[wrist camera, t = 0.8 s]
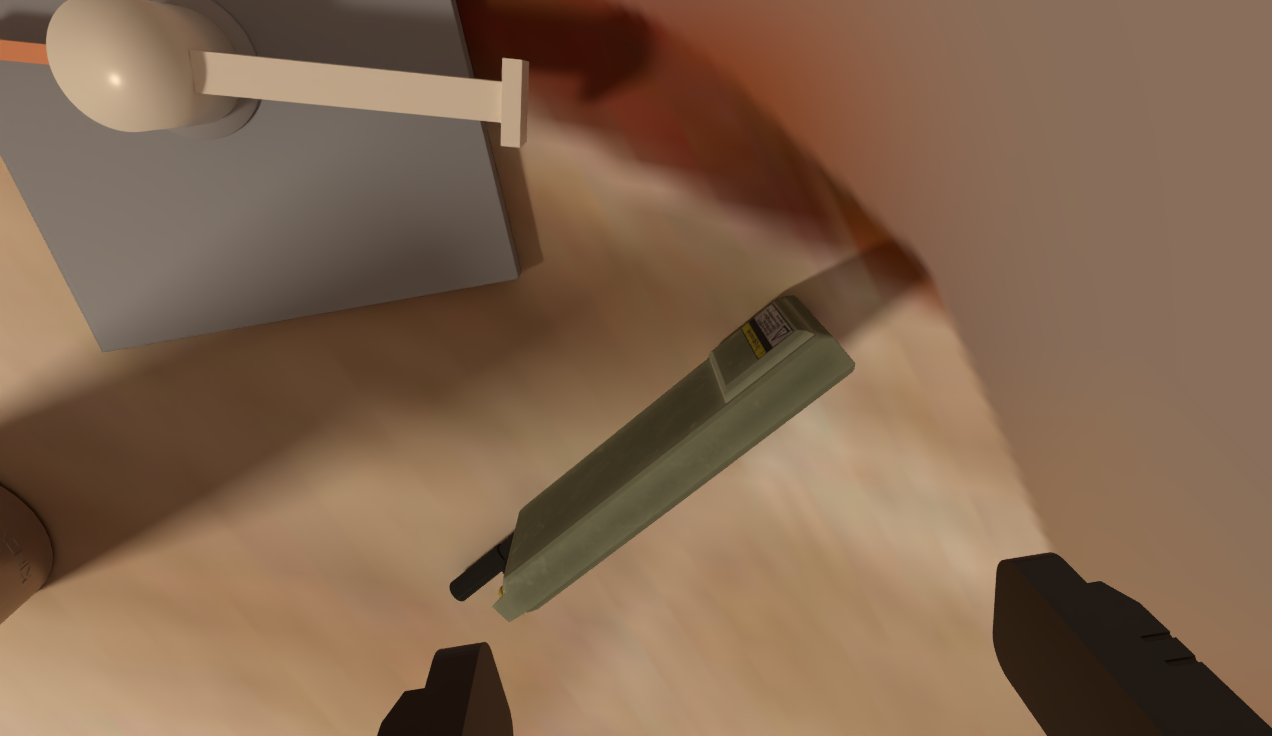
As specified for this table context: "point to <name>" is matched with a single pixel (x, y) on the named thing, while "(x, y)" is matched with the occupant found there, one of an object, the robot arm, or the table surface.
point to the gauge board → (260, 182)
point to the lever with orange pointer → (234, 73)
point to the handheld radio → (663, 455)
